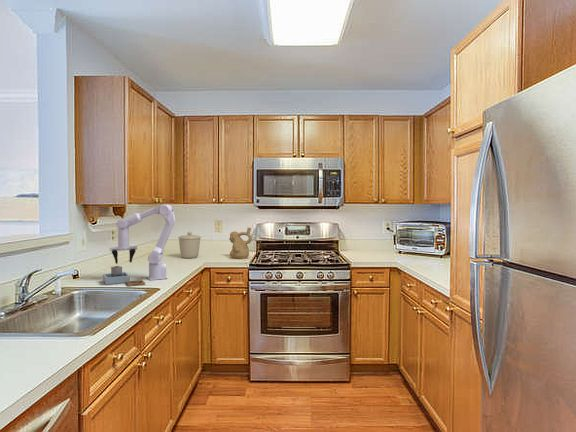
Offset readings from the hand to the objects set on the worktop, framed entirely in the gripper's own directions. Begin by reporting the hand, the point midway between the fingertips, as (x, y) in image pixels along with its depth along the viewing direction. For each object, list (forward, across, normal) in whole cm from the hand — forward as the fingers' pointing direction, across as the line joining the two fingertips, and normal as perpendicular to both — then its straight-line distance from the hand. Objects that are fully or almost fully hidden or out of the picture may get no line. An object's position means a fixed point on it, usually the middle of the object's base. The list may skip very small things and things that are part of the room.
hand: (123, 262), depth 219 cm
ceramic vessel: (+10, +97, +37) cm, 105 cm away
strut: (+9, -5, -7) cm, 12 cm away
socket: (+9, +2, -18) cm, 20 cm away
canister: (+10, +64, +60) cm, 88 cm away
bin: (+9, -5, -7) cm, 13 cm away
